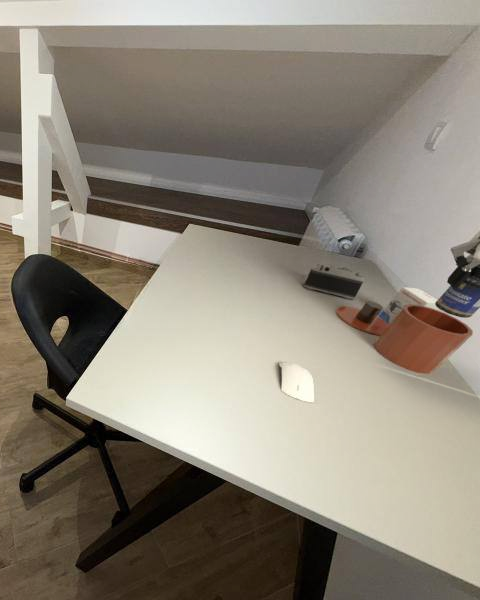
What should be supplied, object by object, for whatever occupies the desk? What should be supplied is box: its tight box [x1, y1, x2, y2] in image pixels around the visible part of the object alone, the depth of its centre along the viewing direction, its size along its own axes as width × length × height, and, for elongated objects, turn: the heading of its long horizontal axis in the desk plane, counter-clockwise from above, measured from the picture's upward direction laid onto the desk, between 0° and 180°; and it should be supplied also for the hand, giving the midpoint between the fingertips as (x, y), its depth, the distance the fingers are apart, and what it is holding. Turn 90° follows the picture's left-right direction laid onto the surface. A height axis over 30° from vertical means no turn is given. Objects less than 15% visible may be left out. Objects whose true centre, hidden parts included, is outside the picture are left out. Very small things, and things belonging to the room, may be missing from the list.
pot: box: [373, 304, 474, 375], centre depth 80 cm, size 13×13×13 cm
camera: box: [303, 263, 366, 300], centre depth 110 cm, size 16×9×10 cm, turn 68°
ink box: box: [378, 286, 440, 325], centre depth 93 cm, size 9×5×12 cm, turn 179°
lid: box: [335, 300, 389, 336], centre depth 94 cm, size 14×14×7 cm
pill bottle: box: [435, 264, 480, 319], centre depth 69 cm, size 6×6×11 cm
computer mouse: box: [278, 361, 315, 403], centre depth 72 cm, size 7×12×2 cm, turn 156°
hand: (472, 288), depth 68 cm, fingers closed on pill bottle, 6 cm apart
